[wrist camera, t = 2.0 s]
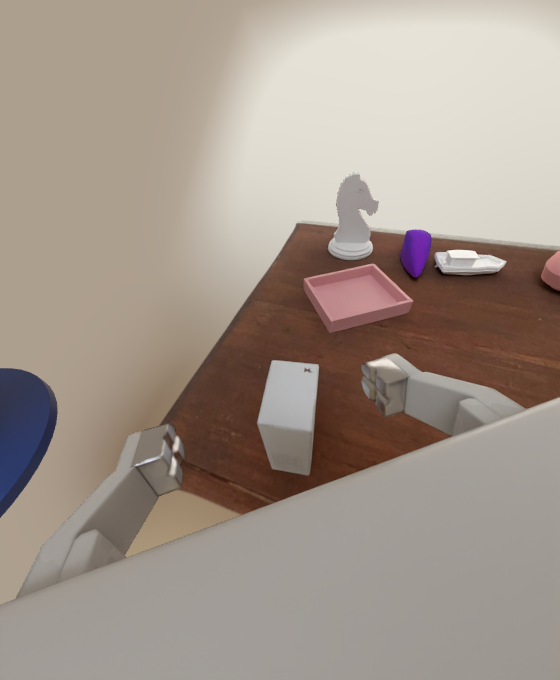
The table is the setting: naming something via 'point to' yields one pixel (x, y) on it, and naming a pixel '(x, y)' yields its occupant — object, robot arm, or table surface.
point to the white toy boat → (467, 263)
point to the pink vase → (552, 272)
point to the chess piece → (353, 220)
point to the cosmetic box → (289, 415)
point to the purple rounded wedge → (415, 251)
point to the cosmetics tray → (355, 297)
